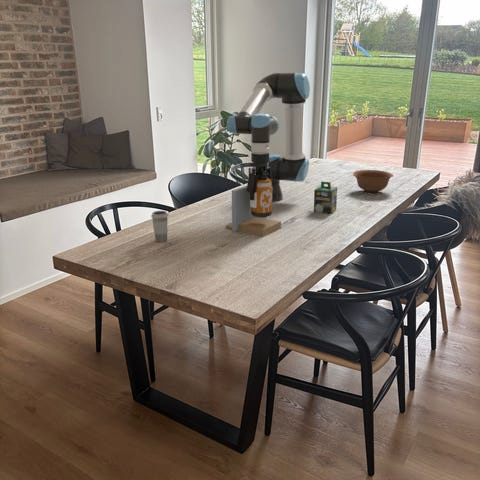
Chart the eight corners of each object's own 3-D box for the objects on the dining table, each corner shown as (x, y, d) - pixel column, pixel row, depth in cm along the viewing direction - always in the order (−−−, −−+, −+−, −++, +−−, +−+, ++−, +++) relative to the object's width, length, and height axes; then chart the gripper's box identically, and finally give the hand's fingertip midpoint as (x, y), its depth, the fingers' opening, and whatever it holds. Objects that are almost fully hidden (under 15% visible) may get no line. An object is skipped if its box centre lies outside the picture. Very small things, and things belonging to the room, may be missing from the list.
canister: (257, 219, 206) (258, 172, 199) (245, 213, 215) (245, 168, 209) (275, 216, 210) (276, 170, 203) (262, 210, 219) (263, 166, 213)
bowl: (348, 195, 271) (349, 175, 267) (355, 186, 290) (356, 168, 286) (389, 198, 263) (391, 178, 259) (393, 189, 282) (395, 170, 278)
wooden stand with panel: (223, 228, 215) (222, 188, 209) (254, 216, 233) (254, 179, 227) (260, 237, 204) (261, 195, 198) (290, 223, 222) (291, 184, 216)
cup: (161, 244, 197) (160, 216, 193) (149, 241, 200) (147, 213, 196) (173, 239, 202) (171, 211, 198) (160, 236, 206) (159, 209, 202)
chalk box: (336, 209, 244) (338, 180, 239) (331, 214, 236) (333, 184, 231) (318, 207, 248) (320, 178, 243) (312, 212, 240) (314, 182, 235)
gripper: (252, 157, 193) (252, 211, 201) (281, 149, 209) (280, 200, 217) (237, 155, 197) (237, 209, 205) (267, 148, 214) (266, 198, 221)
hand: (259, 204), depth 211 cm, fingers closed on canister, 9 cm apart
